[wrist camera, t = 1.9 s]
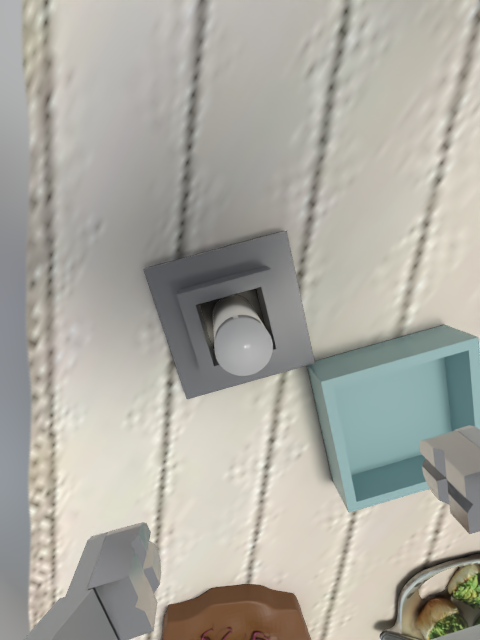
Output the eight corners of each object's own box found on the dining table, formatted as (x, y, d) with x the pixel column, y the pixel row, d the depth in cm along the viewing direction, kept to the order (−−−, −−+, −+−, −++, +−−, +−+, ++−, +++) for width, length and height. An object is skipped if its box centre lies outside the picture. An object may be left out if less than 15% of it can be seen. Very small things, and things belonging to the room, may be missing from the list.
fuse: (247, 290, 32) (265, 313, 22) (257, 328, 33) (278, 367, 23) (207, 301, 32) (207, 329, 22) (218, 339, 33) (223, 382, 23)
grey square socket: (282, 231, 31) (295, 230, 26) (310, 357, 34) (325, 375, 30) (146, 267, 30) (136, 273, 26) (187, 392, 34) (185, 415, 29)
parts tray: (444, 324, 35) (478, 337, 30) (456, 445, 39) (488, 471, 34) (306, 363, 34) (320, 381, 30) (332, 481, 38) (348, 512, 34)
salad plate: (374, 664, 47) (391, 709, 42) (373, 565, 42) (392, 604, 38) (503, 639, 48) (533, 680, 44) (515, 540, 44) (550, 574, 39)
